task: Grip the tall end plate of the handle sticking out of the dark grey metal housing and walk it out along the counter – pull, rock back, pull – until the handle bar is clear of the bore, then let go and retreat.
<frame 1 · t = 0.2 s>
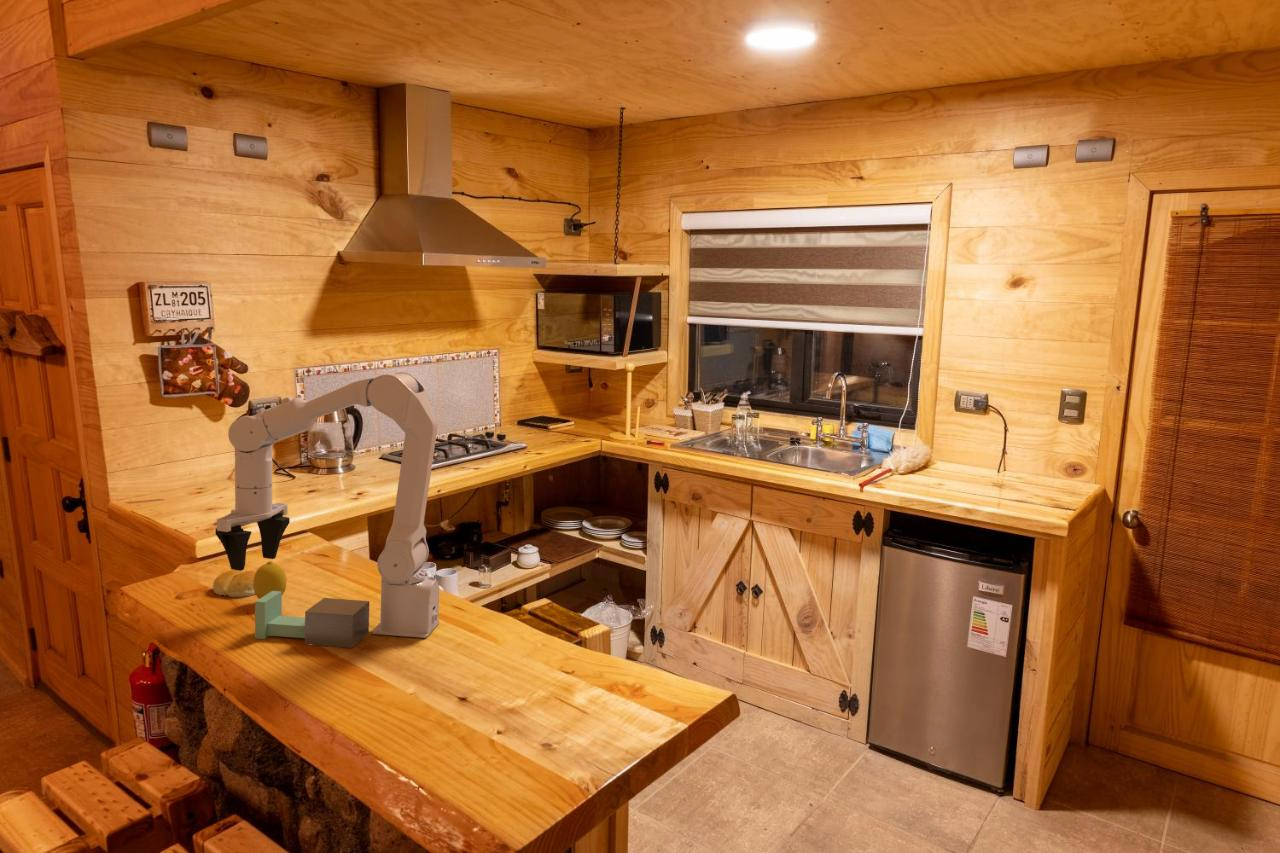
hand: (253, 563, 140), 10 cm above the table, fingers open, 7 cm apart
bread roll: (239, 592, 155), on the table
lemon: (269, 605, 149), on the table
housing: (335, 638, 135), on the table
handle: (298, 616, 134), point 3 cm above the table, slide at 0.0 cm
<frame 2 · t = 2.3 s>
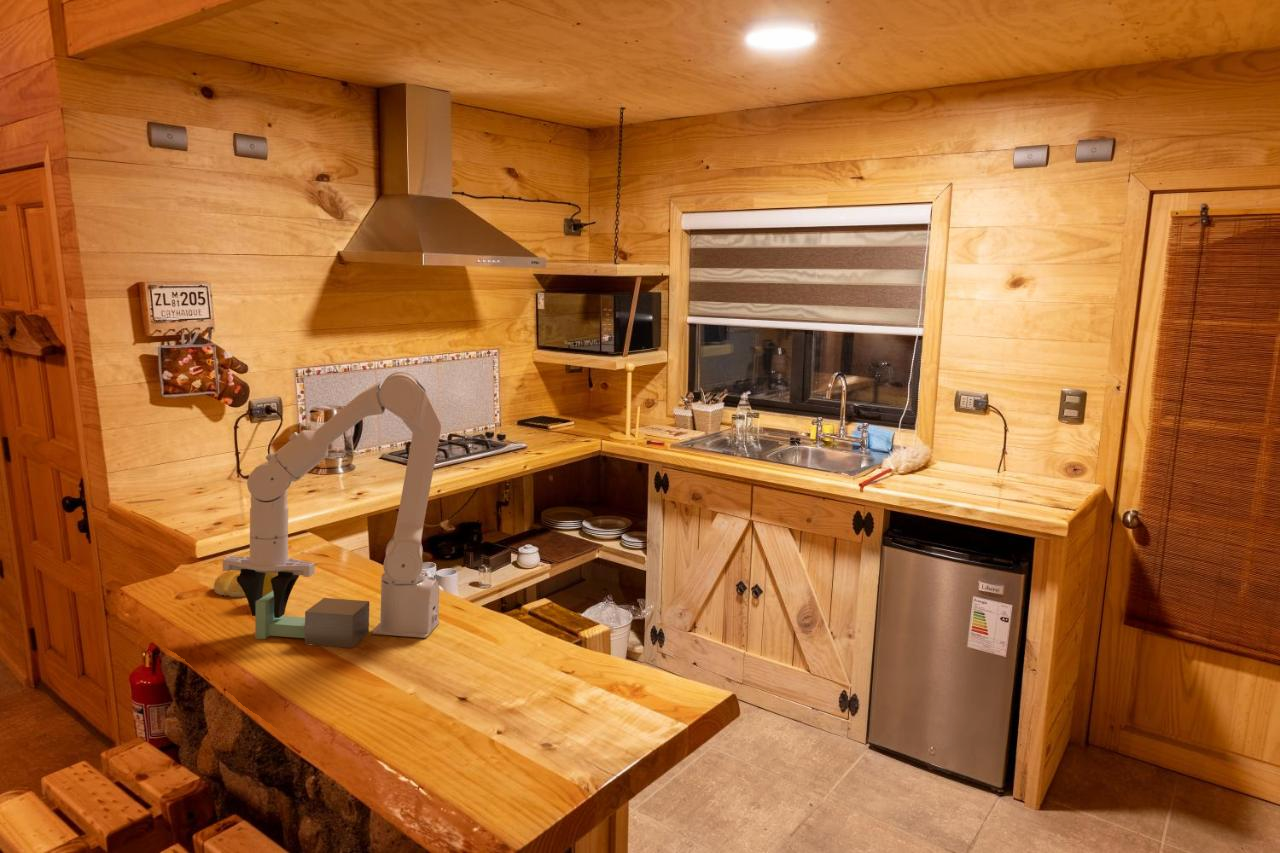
hand: (268, 615, 135), 3 cm above the table, fingers open, 3 cm apart
handle: (298, 616, 134), point 3 cm above the table, slide at -0.1 cm, touching gripper
everything else where it was.
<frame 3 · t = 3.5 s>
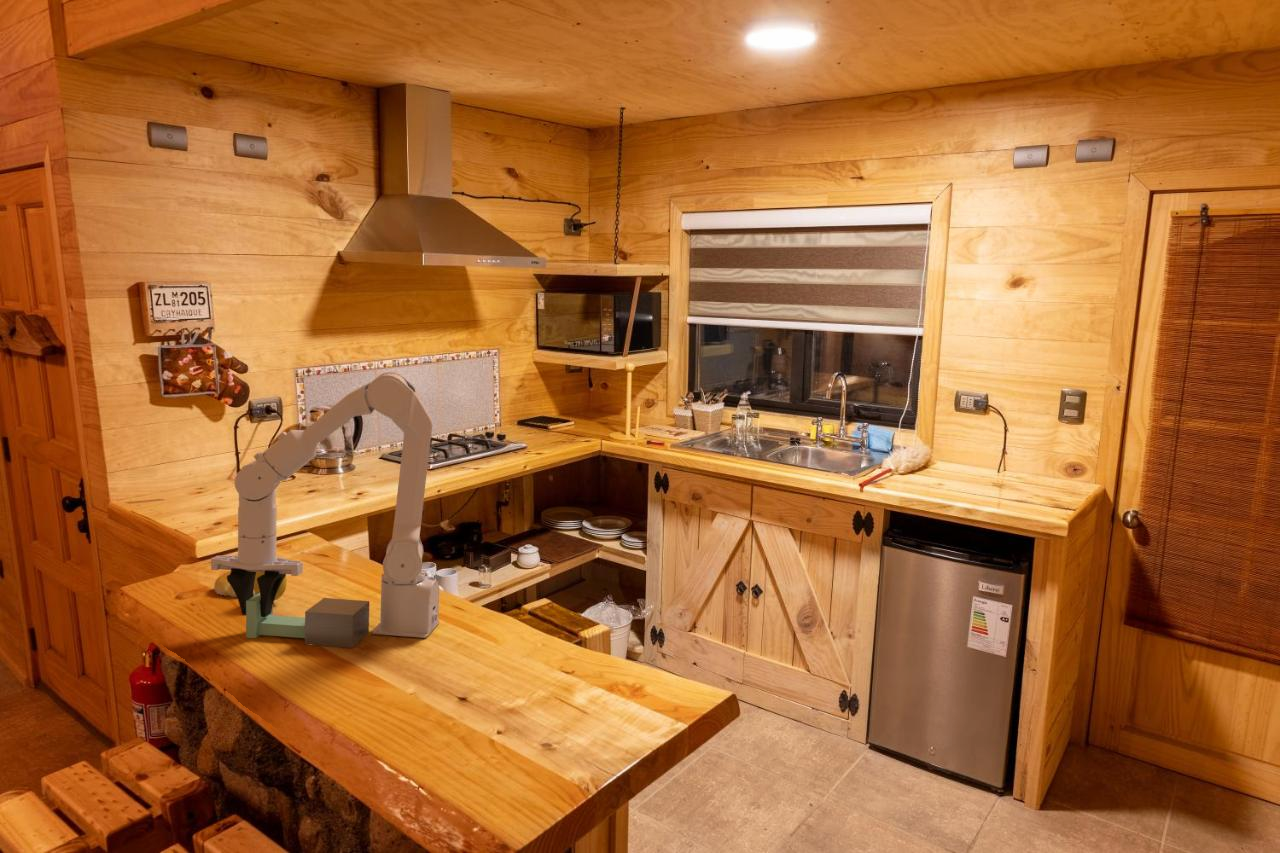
hand: (256, 614, 135), 3 cm above the table, fingers closed on handle, 3 cm apart
handle: (289, 616, 135), point 3 cm above the table, slide at 1.5 cm, touching gripper
everything else where it was.
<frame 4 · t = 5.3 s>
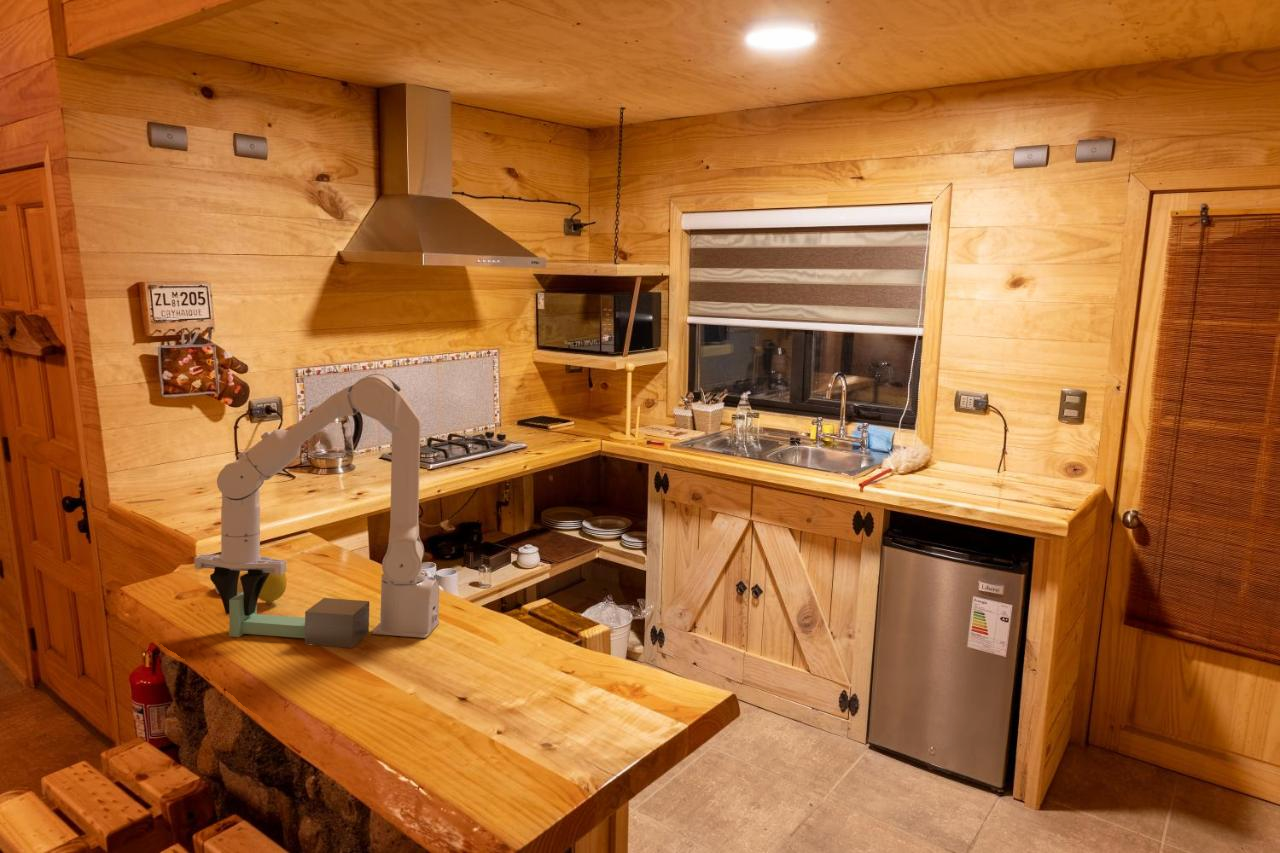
hand: (240, 612, 135), 3 cm above the table, fingers closed on handle, 3 cm apart
handle: (272, 614, 135), point 3 cm above the table, slide at 4.3 cm, touching gripper
everything else where it was.
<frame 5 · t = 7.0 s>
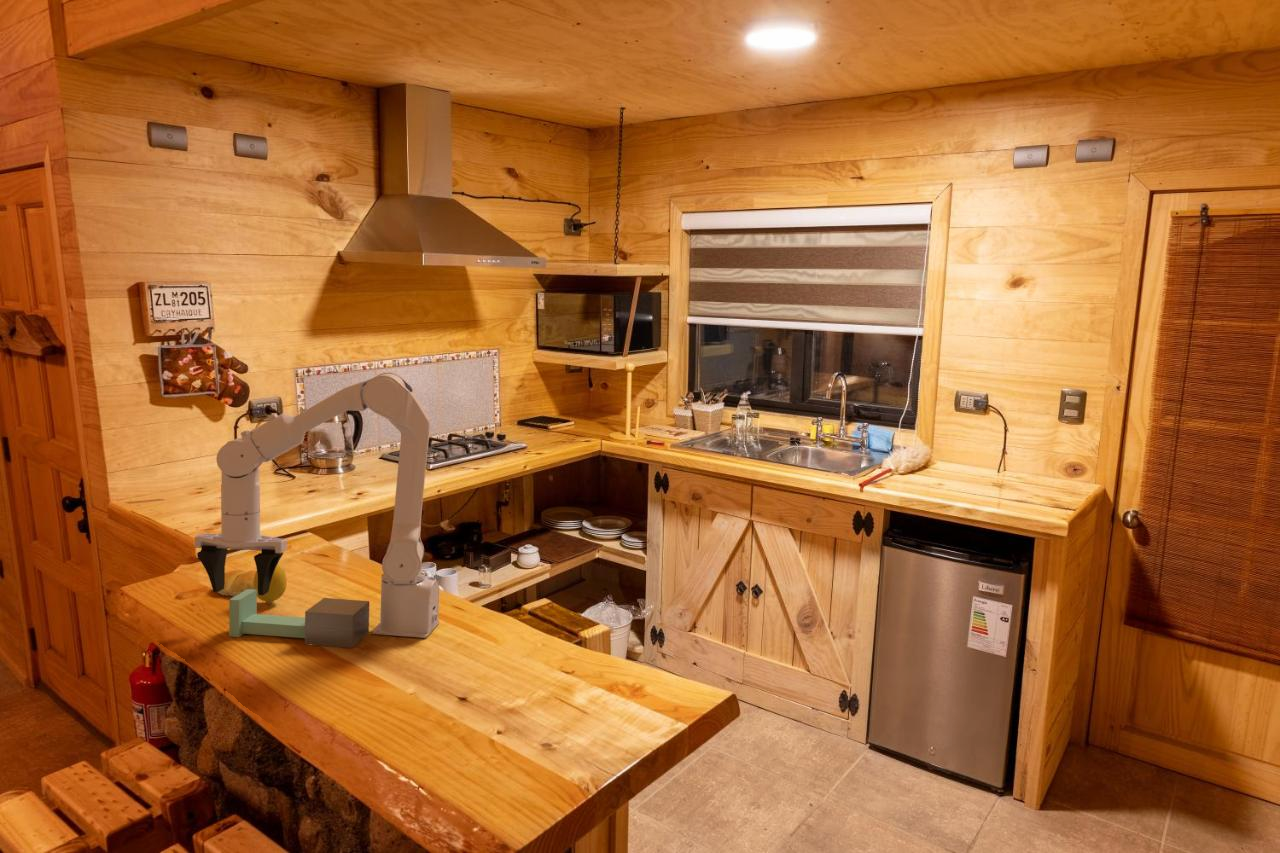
hand: (241, 592, 135), 7 cm above the table, fingers open, 7 cm apart
handle: (272, 614, 135), point 3 cm above the table, slide at 4.3 cm
everything else where it was.
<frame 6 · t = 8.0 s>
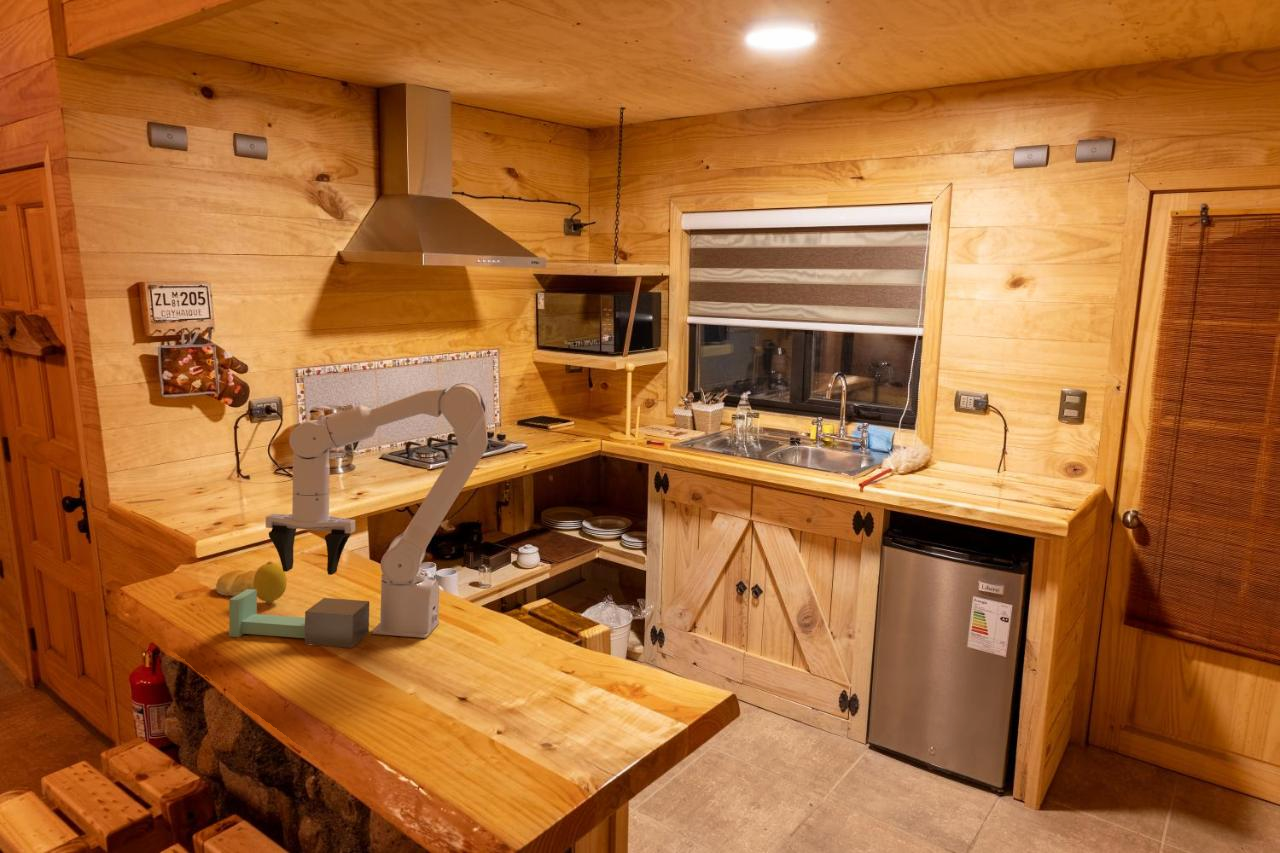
hand: (310, 571, 137), 10 cm above the table, fingers open, 7 cm apart
nothing on the table moved.
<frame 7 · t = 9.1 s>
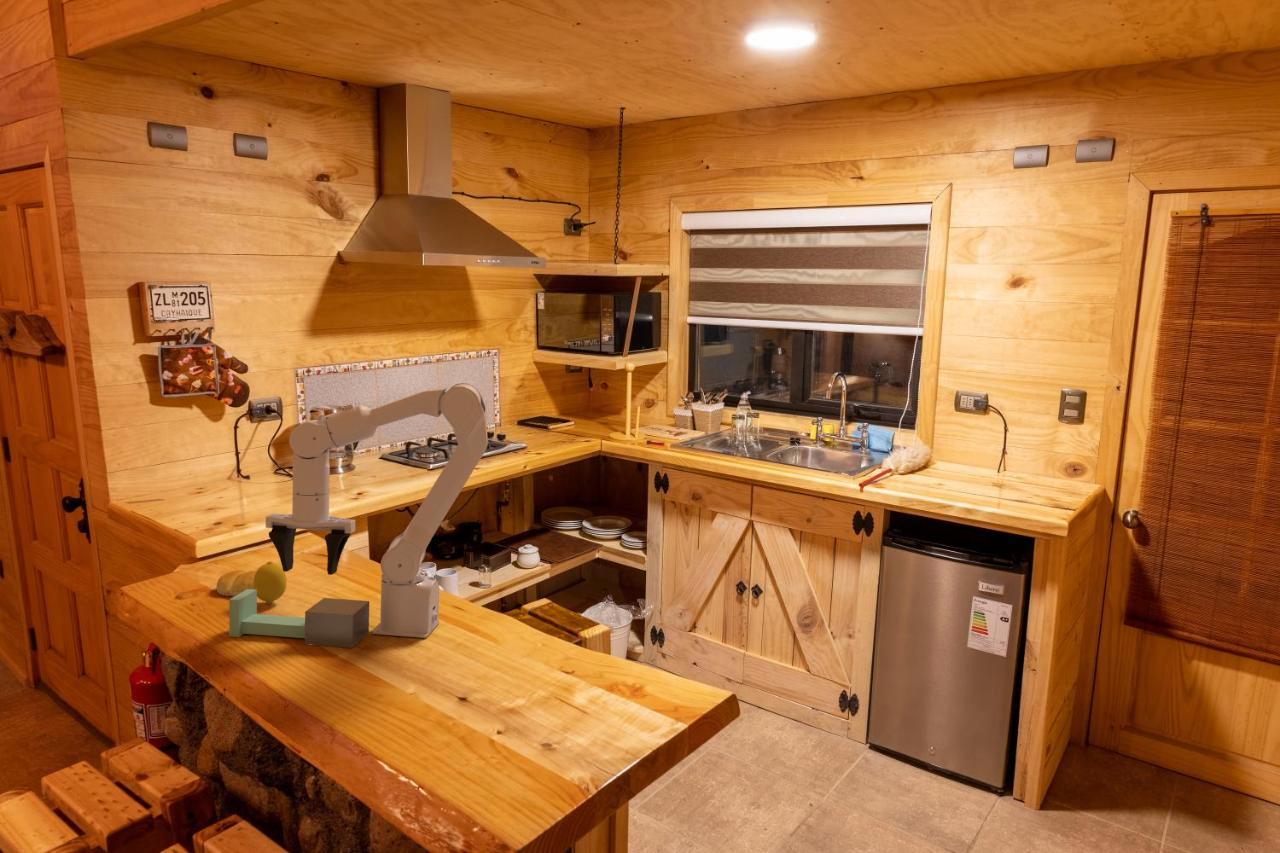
hand: (310, 571, 137), 10 cm above the table, fingers open, 7 cm apart
nothing on the table moved.
at the end: handle slide at 4.3 cm; the gripper is holding nothing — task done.
